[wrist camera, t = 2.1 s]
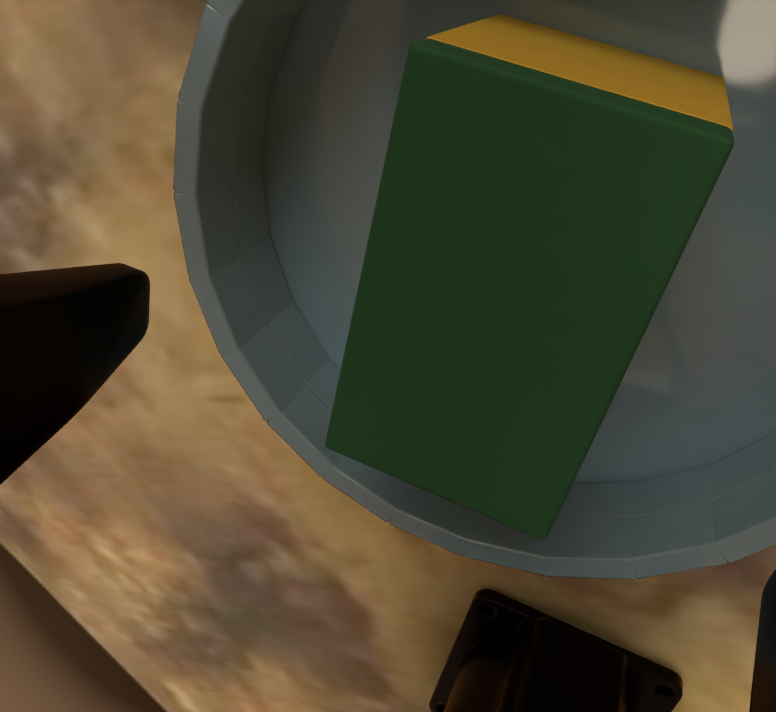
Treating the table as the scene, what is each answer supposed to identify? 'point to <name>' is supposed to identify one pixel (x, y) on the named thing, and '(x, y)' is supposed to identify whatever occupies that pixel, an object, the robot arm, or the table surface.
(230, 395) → the table surface
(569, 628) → the robot arm
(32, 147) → the table surface
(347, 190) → the bowl
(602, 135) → the sponge
